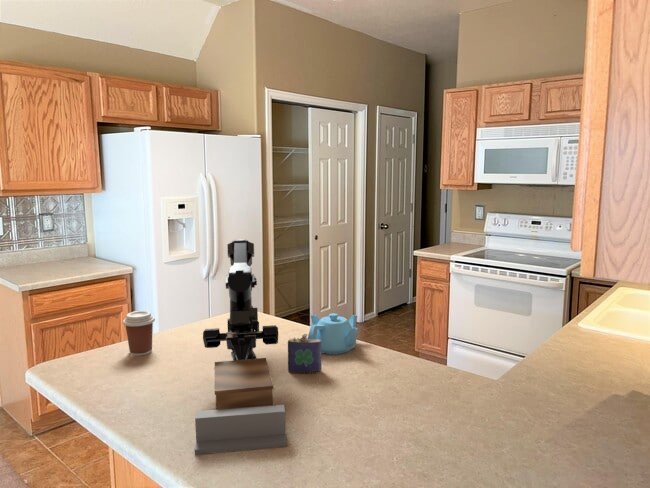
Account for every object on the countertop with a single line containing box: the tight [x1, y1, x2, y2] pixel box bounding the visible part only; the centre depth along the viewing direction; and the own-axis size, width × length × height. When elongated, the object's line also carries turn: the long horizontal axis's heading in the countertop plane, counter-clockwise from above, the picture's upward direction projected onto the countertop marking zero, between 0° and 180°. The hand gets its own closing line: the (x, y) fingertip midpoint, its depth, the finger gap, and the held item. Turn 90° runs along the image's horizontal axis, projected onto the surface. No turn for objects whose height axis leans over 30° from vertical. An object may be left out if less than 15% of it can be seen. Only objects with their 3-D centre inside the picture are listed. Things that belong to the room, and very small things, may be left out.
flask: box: [287, 333, 322, 375], centre depth 137 cm, size 9×3×11 cm, turn 88°
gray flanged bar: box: [194, 404, 288, 455], centre depth 102 cm, size 6×18×6 cm, turn 99°
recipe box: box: [214, 357, 274, 410], centre depth 116 cm, size 16×12×9 cm
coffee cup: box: [122, 310, 156, 357], centre depth 153 cm, size 9×9×12 cm
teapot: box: [307, 312, 359, 355], centre depth 156 cm, size 15×15×11 cm
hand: (241, 368), depth 123 cm, fingers closed
